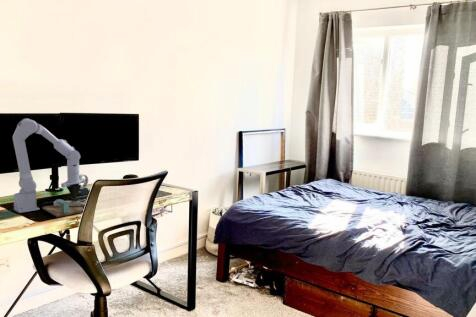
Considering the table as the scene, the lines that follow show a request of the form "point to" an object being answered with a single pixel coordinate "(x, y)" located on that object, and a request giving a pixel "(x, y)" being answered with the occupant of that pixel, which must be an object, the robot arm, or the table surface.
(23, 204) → the robot arm
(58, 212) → the board
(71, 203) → the latch bar
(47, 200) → the table surface
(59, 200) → the block
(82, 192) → the watch
